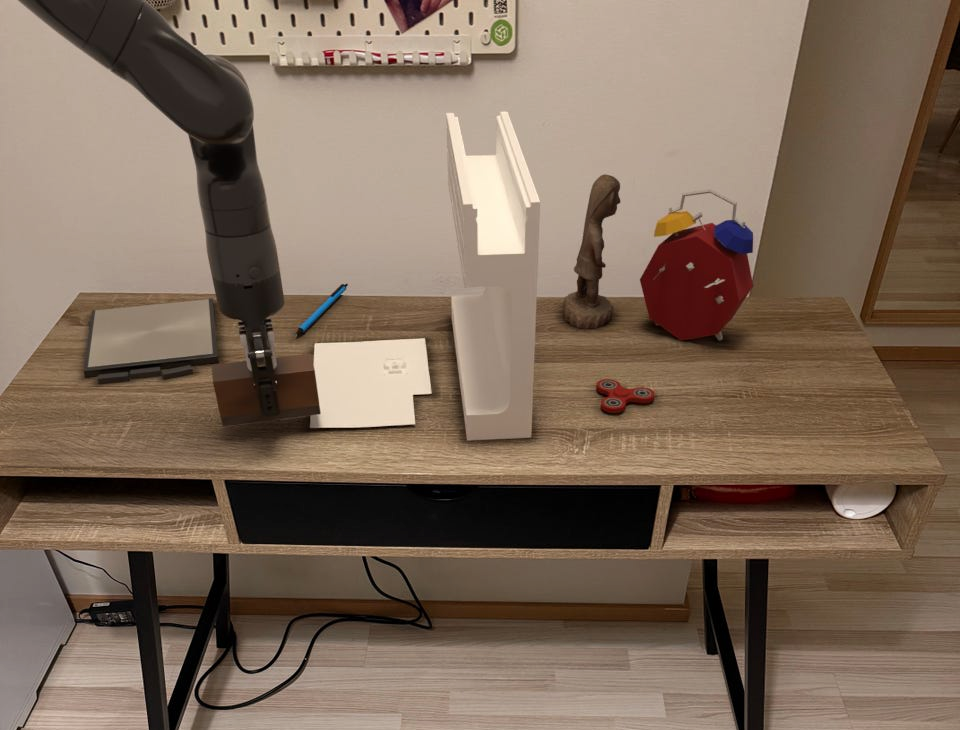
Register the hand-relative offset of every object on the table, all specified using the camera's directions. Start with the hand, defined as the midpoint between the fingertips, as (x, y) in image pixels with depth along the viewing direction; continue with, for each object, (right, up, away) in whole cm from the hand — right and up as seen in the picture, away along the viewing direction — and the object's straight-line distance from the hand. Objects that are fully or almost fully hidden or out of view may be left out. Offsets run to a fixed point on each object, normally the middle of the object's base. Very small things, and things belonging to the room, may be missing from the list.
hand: (269, 404), depth 116 cm
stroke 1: (-24, +7, +11) cm, 27 cm away
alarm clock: (+56, +15, +21) cm, 62 cm away
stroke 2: (-20, +8, +12) cm, 25 cm away
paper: (+11, +6, +11) cm, 17 cm away
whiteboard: (-22, +15, +21) cm, 34 cm away
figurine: (+42, +20, +26) cm, 54 cm away
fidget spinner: (+44, +3, +8) cm, 45 cm away
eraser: (0, -1, +1) cm, 1 cm away
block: (+27, +8, +13) cm, 31 cm away
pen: (+2, +21, +27) cm, 35 cm away
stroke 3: (-16, +8, +12) cm, 21 cm away
